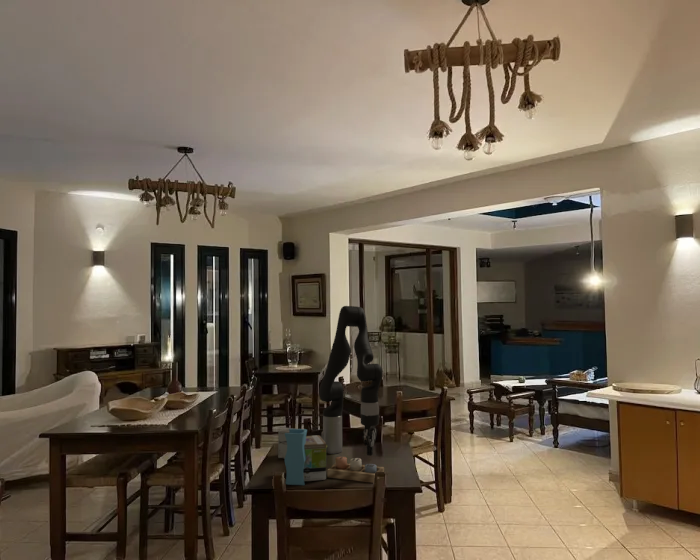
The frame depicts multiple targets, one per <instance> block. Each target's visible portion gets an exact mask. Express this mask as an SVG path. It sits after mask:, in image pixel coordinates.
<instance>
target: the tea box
mask: <svg viewBox="0 0 700 560" xmlns="http://www.w3.org/2000/svg"><path fill="white" fill-rule="evenodd" d="M304 449H305V454H306V460H305V462H304V469H303V477H304V482H312V481H322V480H323V481H324V480H327V453H326V443H325V441H324V440H323V439H322V436H321V435H316V434H315V435H306V443H305V445H304Z"/></svg>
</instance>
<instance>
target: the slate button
mask: <svg viewBox="0 0 700 560" xmlns="http://www.w3.org/2000/svg"><path fill="white" fill-rule="evenodd" d="M364 465H365V472H367V473H376V472H377V465H376V464H374V463H366V464H364Z"/></svg>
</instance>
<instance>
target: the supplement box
mask: <svg viewBox="0 0 700 560" xmlns="http://www.w3.org/2000/svg"><path fill="white" fill-rule="evenodd" d="M289 429H295V428H292V427H291V428H290V427H284V428H282V429H280V430H278V431H277V432H278V438H277V439H278V441H277V443H278V445H277V447H278V448H277V449H278V451H277V455H278V456H277V457H278V459H285V456H286V452H287V441H286V437H285V433H289Z"/></svg>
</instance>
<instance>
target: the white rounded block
mask: <svg viewBox="0 0 700 560" xmlns="http://www.w3.org/2000/svg"><path fill="white" fill-rule="evenodd" d="M349 463H350V470H351V471H361V470H362V465H363V464H362V459H361V458H360V457H354V458H351V459H349Z"/></svg>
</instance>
